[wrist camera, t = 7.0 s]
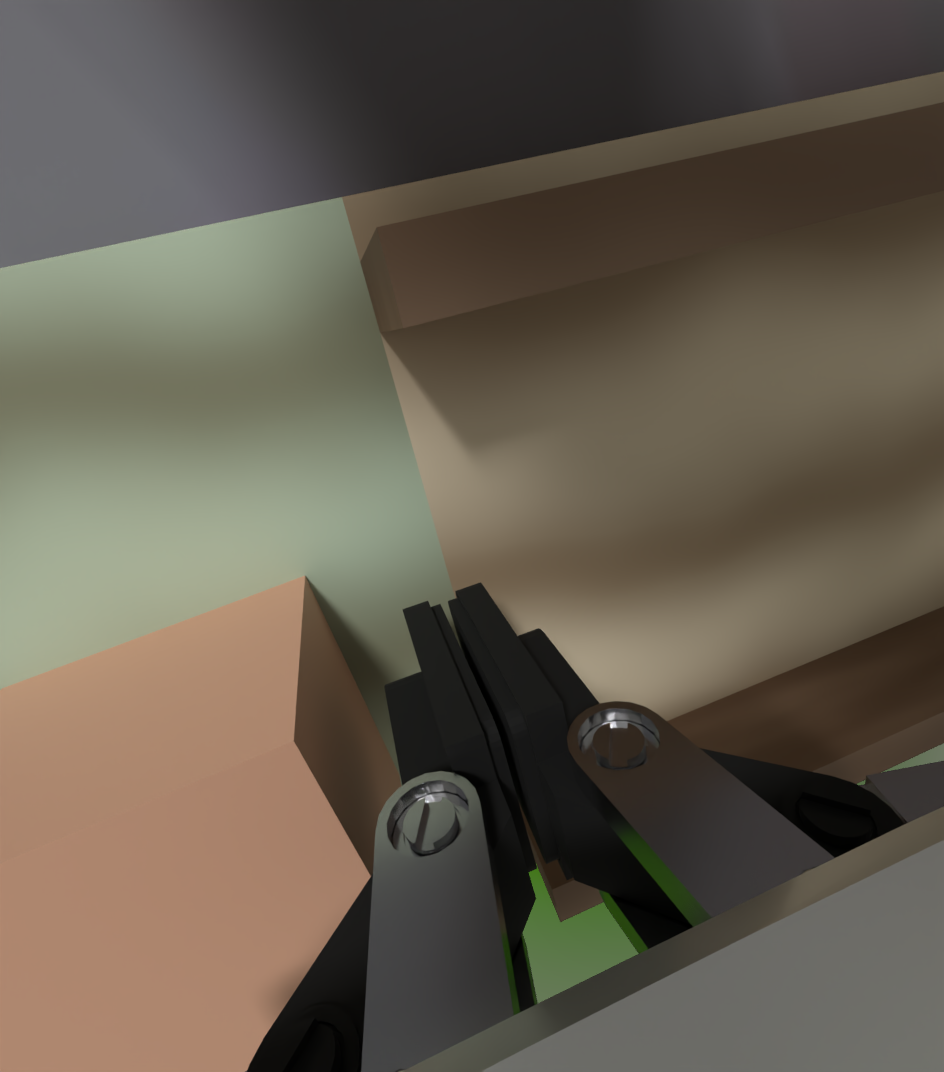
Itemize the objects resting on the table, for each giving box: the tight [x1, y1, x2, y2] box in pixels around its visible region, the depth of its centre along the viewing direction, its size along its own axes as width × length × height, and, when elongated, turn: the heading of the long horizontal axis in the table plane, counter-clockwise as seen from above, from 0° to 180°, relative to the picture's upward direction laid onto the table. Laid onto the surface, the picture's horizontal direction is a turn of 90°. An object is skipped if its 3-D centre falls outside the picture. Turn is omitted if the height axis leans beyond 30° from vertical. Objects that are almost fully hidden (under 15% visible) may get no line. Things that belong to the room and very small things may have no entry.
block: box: [0, 576, 401, 1072], centre depth 9 cm, size 6×6×5 cm
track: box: [0, 71, 944, 922], centre depth 13 cm, size 16×40×6 cm, turn 104°
